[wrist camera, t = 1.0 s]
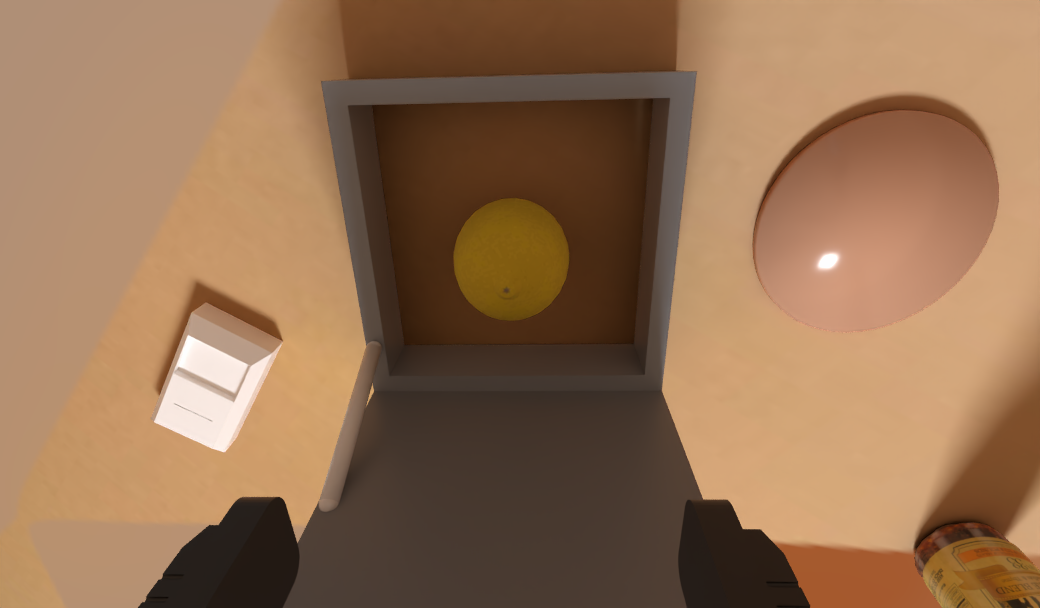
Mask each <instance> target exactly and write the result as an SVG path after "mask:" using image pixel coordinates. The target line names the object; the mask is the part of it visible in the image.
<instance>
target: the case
mask: <svg viewBox="0 0 1040 608" xmlns="http://www.w3.org/2000/svg"><path fill="white" fill-rule="evenodd" d="M696 74H697V72H696V71H649V72H611V73H572V74H533V75H495V76H456V77H417V78H378V79H345V80H331V81H321V84H322V90H323V96H324V102H325V107H326V113H327V119H328V125H329V131H330V137H331V142H332V148H333V154H334V160H335V166H336V172H337V177H338V183H339V189H340V195H341V201H342V207H343V212H344V218H345V224H346V230H347V236H348V242H349V247H350V253H351V259H352V265H353V271H354V277H355V282H356V288H357V294H358V300H359V306H360V312H361V317H362V323H363V329H364V335H365V341H366V349H365V353H364V356H363V359H362V363H361V366H360V369H359V372H358V376H357V379H356V382H355V385H354V389H353V392H352V395H351V399H350V402H349V405H348V408H347V412H346V415H345V418H344V422H343V425H342V428H341V431H340V435H339V438H338V441H337V444H336V448H335V451H334V454H333V458H332V461H331V464H330V467H329V471H328V474H327V477H326V481H325V484H324V487H323V490H322V494H321V497H320V500H319V502H318V504H317V506H316V508H315V510H314V512H313V514H312V516H311V518H310V520H309V522H308V524H307V526H306V528H305V530H304V532H303V534H302V536H301V538H300V540H299V542H298V548H299V554H300V560H299V568H298V573H297V577H296V580H295V582H294V585H293V587H292V589H291V591H290V593H289V595H288V598H287V600H286V602H285V604H284V606H283V608H687V606H686V602H685V599H684V595H683V591H682V588H681V583H680V577H679V568H678V552H679V545H680V538H681V531H682V524H683V517H684V510H685V504H686V502H687V500H703V498H702V495H701V493H700V490H699V487H698V485H697V482H696V480H695V477H694V474H693V472H692V469H691V466H690V464H689V461H688V459H687V456H686V453H685V451H684V448H683V445H682V443H681V440H680V438H679V435H678V432H677V430H676V427H675V424H674V422H673V419H672V417H671V414H670V411H669V409H668V406H667V403H666V401H665V398H664V396H663V393H662V383H663V374H664V365H665V356H666V347H667V338H668V329H669V320H670V310H671V301H672V292H673V283H674V274H675V265H676V256H677V247H678V238H679V228H680V219H681V210H682V201H683V192H684V183H685V174H686V165H687V156H688V147H689V137H690V128H691V119H692V110H693V101H694V92H695V83H696ZM640 98H653V107H652V120H651V132H650V145H649V158H648V170H647V183H646V196H645V208H644V221H643V234H642V246H641V259H640V272H639V284H638V297H637V310H636V322H635V335H634V344H497V345H404V339H403V331H402V324H401V317H400V309H399V302H398V294H397V287H396V280H395V272H394V265H393V258H392V250H391V243H390V236H389V228H388V221H387V213H386V206H385V199H384V191H383V184H382V177H381V169H380V162H379V154H378V147H377V140H376V132H375V125H374V118H373V110H372V105H388V104H430V103H472V102H514V101H556V100H598V99H640ZM372 383H373V387H374V393H373V395H372V397H371V399H370V401H369V403H368V405H367V407H366V404H367V401H368V397H369V393H370V390H371V386H372ZM365 408H366V409H365Z"/></svg>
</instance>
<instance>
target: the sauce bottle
mask: <svg viewBox="0 0 1040 608" xmlns="http://www.w3.org/2000/svg"><path fill="white" fill-rule="evenodd" d="M915 566H916V568H917V570H918V573H919V574H920V575H921V576H922V577H923V578H924V581H925V583H926V585H927V587H928V588H929V589H930V591H931V592H932V594H933V595H934V597H935V598H936V599H937V601H938V602H939V604H940V605H941V606H942V608H1040V570H1039V569H1038V568H1037V567H1036V566H1035V565H1034V564H1033V563H1032V562H1031V561H1030V560H1029V559H1028V558H1027V556H1026V555H1025V554H1024V553H1023V552H1022V551H1021V550H1020V549H1019V548H1018V547H1016V546H1015V545H1014V544H1012V543H1010V542H1009V541H1008V540H1007V539H1006V538H1005V537H1004V536H1003V535H1002V534H1000V533H999V532H997V531H996V530H995V529H993V528H992V527H990V526H988V525H984V524H981V523H973V522H970V523H958V524H949V525H944V526H942V527H940V528H938V529H936V530H935V531H934V532H933V533H932V534H930V535H929V536H928V537H926V538H925V539H923V540H922V542H921V544H920V545H919V546H918V547H917V550H916V552H915Z"/></svg>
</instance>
